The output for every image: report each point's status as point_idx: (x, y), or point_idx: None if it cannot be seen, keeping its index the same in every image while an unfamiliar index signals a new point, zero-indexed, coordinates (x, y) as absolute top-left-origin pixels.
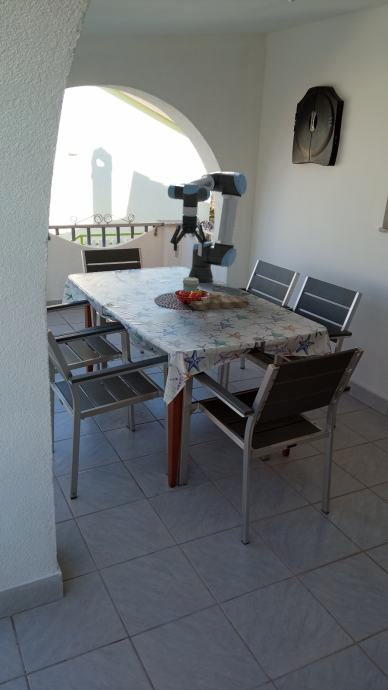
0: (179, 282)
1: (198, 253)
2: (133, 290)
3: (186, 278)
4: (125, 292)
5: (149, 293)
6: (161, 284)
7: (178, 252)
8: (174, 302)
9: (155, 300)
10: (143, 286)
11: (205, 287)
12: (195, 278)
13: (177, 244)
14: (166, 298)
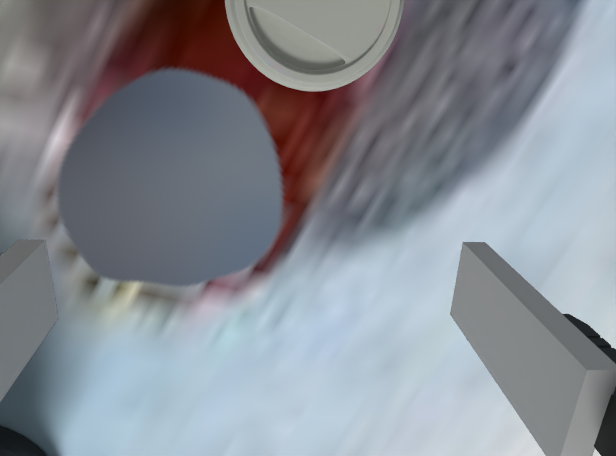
0: (147, 450)
1: (42, 316)
2: None
3: (350, 44)
4: None
5: None
6: (282, 431)
7: (499, 280)
8: (433, 10)
9: (527, 105)
10: (409, 413)
11: None
12: (248, 13)
13: (574, 422)
14: (427, 131)
